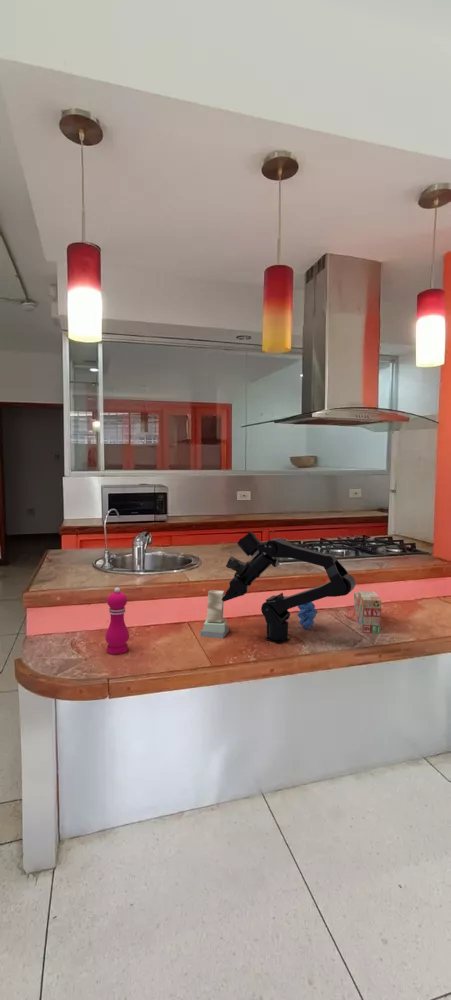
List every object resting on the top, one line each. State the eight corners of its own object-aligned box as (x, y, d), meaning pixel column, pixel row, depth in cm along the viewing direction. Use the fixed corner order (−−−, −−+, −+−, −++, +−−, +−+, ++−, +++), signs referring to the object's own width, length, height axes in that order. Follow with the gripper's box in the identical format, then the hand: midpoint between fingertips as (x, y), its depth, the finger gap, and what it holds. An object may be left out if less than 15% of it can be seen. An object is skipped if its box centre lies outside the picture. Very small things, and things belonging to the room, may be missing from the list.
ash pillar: (222, 619, 165) (224, 590, 165) (221, 622, 160) (222, 593, 160) (208, 618, 166) (210, 589, 166) (206, 621, 161) (208, 592, 161)
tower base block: (228, 632, 166) (228, 625, 166) (223, 640, 158) (223, 632, 158) (207, 630, 168) (207, 623, 168) (200, 638, 160) (200, 631, 160)
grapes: (324, 633, 164) (325, 599, 164) (306, 634, 163) (307, 600, 162) (310, 623, 176) (311, 591, 175) (293, 624, 174) (294, 592, 173)
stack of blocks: (353, 615, 186) (354, 584, 186) (369, 616, 186) (370, 585, 185) (362, 633, 165) (363, 598, 165) (380, 634, 164) (381, 599, 164)
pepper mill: (109, 646, 150) (108, 584, 149) (131, 646, 150) (131, 585, 149) (102, 654, 143) (102, 590, 142) (125, 655, 142) (125, 590, 141)
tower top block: (226, 625, 166) (226, 618, 166) (224, 632, 159) (224, 624, 159) (206, 624, 166) (206, 618, 166) (203, 631, 159) (204, 624, 159)
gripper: (243, 545, 169) (213, 574, 171) (236, 553, 151) (203, 586, 153) (264, 567, 168) (234, 596, 171) (261, 578, 150) (226, 611, 152)
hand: (224, 597), depth 162 cm, fingers open, 9 cm apart
